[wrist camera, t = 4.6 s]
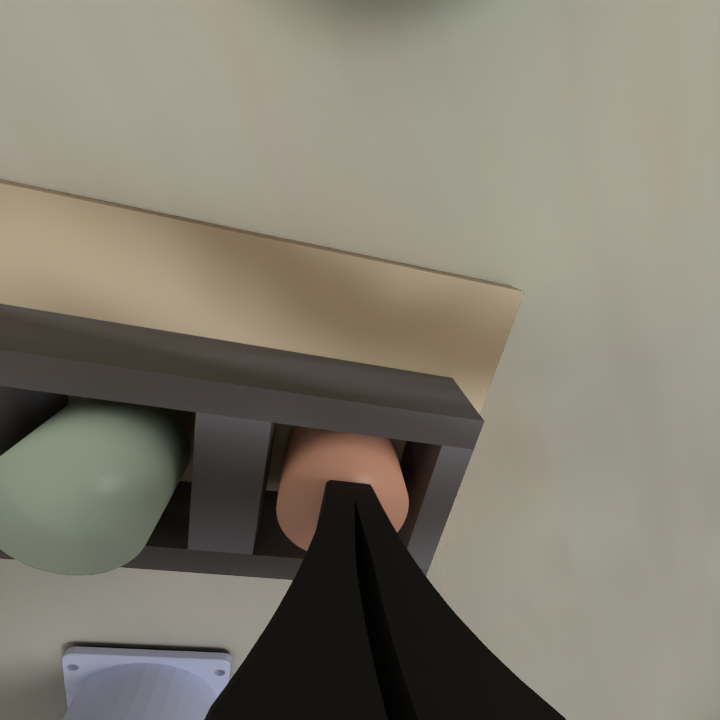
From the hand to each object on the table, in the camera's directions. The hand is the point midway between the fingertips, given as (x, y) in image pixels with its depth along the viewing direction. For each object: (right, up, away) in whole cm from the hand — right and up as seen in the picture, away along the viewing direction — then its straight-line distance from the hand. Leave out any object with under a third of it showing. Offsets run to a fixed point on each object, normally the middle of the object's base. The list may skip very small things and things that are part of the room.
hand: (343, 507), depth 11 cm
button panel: (-7, +3, +3) cm, 8 cm away
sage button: (-7, +2, +1) cm, 7 cm away
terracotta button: (0, +1, +3) cm, 3 cm away
